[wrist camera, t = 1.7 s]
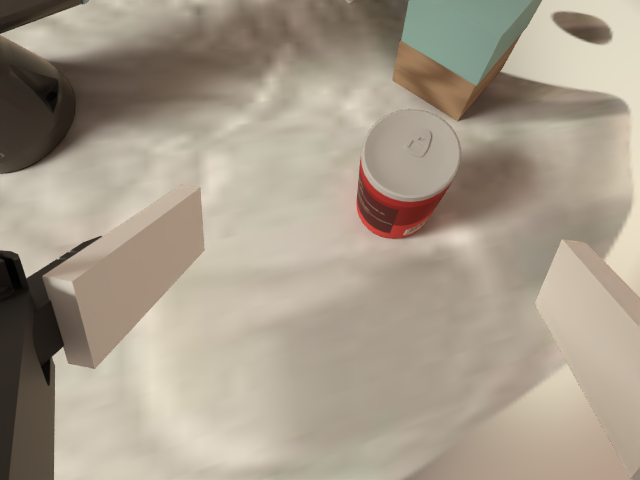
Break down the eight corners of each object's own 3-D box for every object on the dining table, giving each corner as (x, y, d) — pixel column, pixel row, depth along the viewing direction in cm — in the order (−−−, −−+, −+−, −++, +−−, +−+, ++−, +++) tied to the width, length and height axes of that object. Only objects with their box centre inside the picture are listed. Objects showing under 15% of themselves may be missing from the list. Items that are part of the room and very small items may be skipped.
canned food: (438, 181, 41) (472, 120, 30) (419, 251, 39) (448, 211, 28) (368, 163, 42) (377, 97, 31) (346, 229, 40) (348, 183, 29)
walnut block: (392, 81, 45) (399, 40, 39) (437, 32, 47) (450, -14, 41) (457, 122, 43) (475, 85, 37) (501, 69, 45) (525, 26, 39)
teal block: (401, 40, 39) (411, -14, 33) (452, -14, 41) (470, -74, 35) (476, 86, 37) (501, 36, 31) (526, 27, 39) (559, -31, 33)
